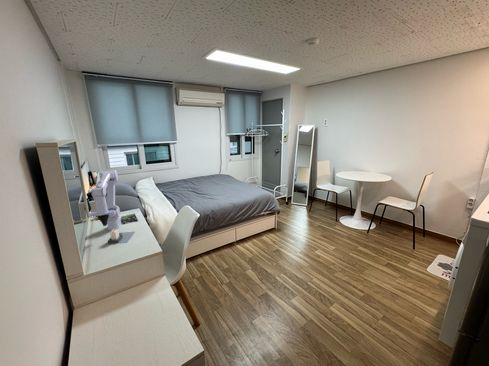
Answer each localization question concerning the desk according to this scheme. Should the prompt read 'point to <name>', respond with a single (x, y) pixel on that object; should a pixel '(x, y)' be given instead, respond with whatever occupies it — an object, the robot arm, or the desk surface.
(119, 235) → the frame
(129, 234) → the board
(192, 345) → the desk surface
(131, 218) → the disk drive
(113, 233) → the plug
